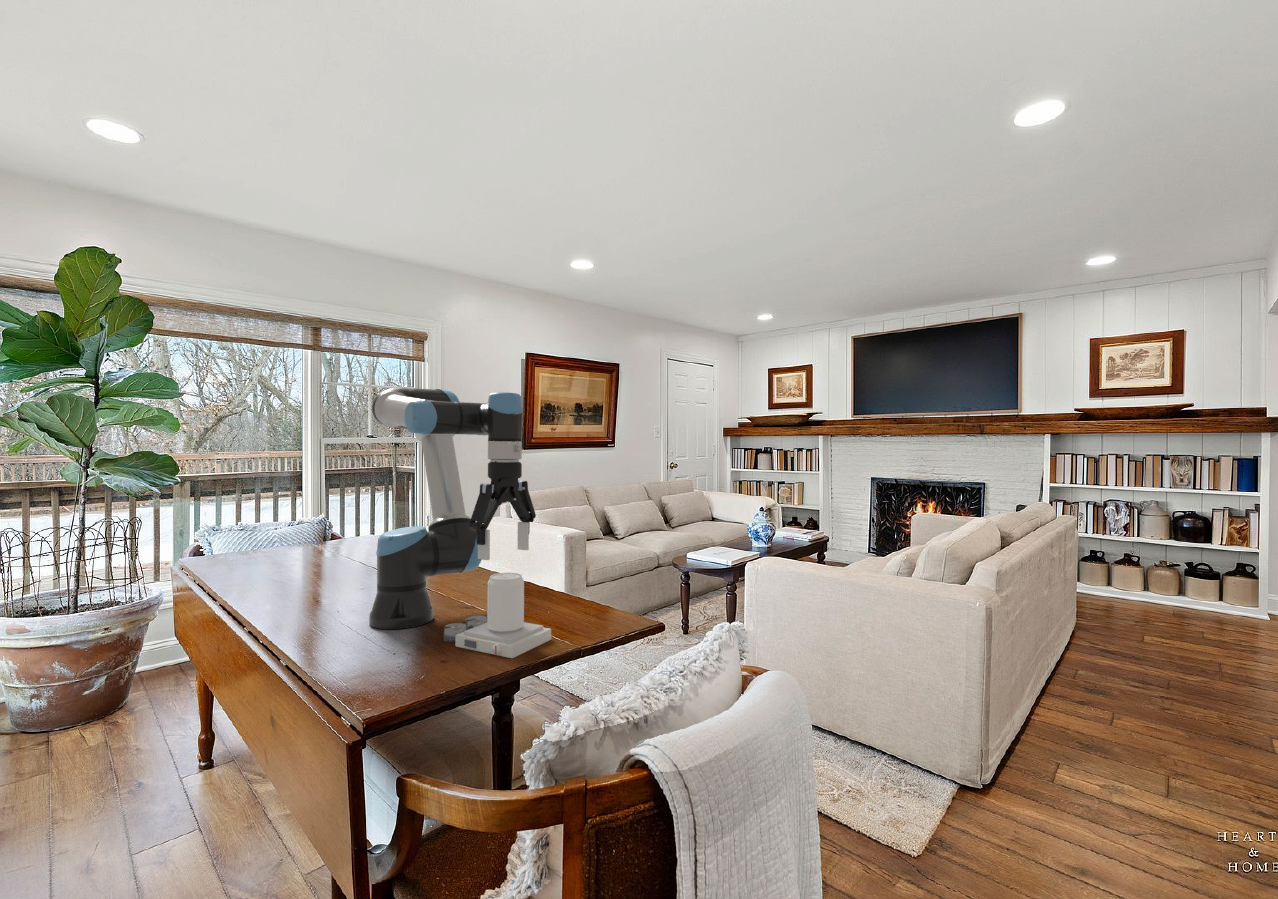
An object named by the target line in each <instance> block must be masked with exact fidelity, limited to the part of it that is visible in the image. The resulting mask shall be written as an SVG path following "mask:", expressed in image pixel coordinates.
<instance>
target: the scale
mask: <svg viewBox="0 0 1278 899" xmlns="http://www.w3.org/2000/svg"><path fill="white" fill-rule="evenodd" d="M551 640H552V628H550V627H544V625H542V624H537V623H532V622H525V621H524V626H523V627H522V628H520V629H518V630H516V631H513V632H507V633H499V632H494V631H492V630H490V629H488V627H487V623H485V624H482V625H479V626H477V627H474V628H471V629H469V630H466V631H464V632H462V633H460V634H457V635H455V642H454V643H455V647H457V648H462V649H466V650H470V651H475V652H481V653H485V654H489V655H493V656H494V655H495V656H500V657H505V658H509V659H514V658H516V657H518V656H520V655H522V654H525V653H526V652H528V651H531V650H532V649H534V648H537V647H539V646H541V645H544V644H545V643H547V642H549V641H551Z"/></svg>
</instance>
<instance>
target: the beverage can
mask: <svg viewBox="0 0 1278 899" xmlns="http://www.w3.org/2000/svg"><path fill="white" fill-rule="evenodd" d="M522 576H523V575H522V574H521V573H518V572H498V573H493V574H491V575H490V576H489V579H488V581H487V600H486V601H487V606H486V609H487V612H486V613H487V615H486V617H487V627H488V629H490V630H492V631H494V632H499V633H507V632H513V631H516V630H518V629H520V628H522V627H523V626H524V622H525V580H524V578H523V577H522Z"/></svg>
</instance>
